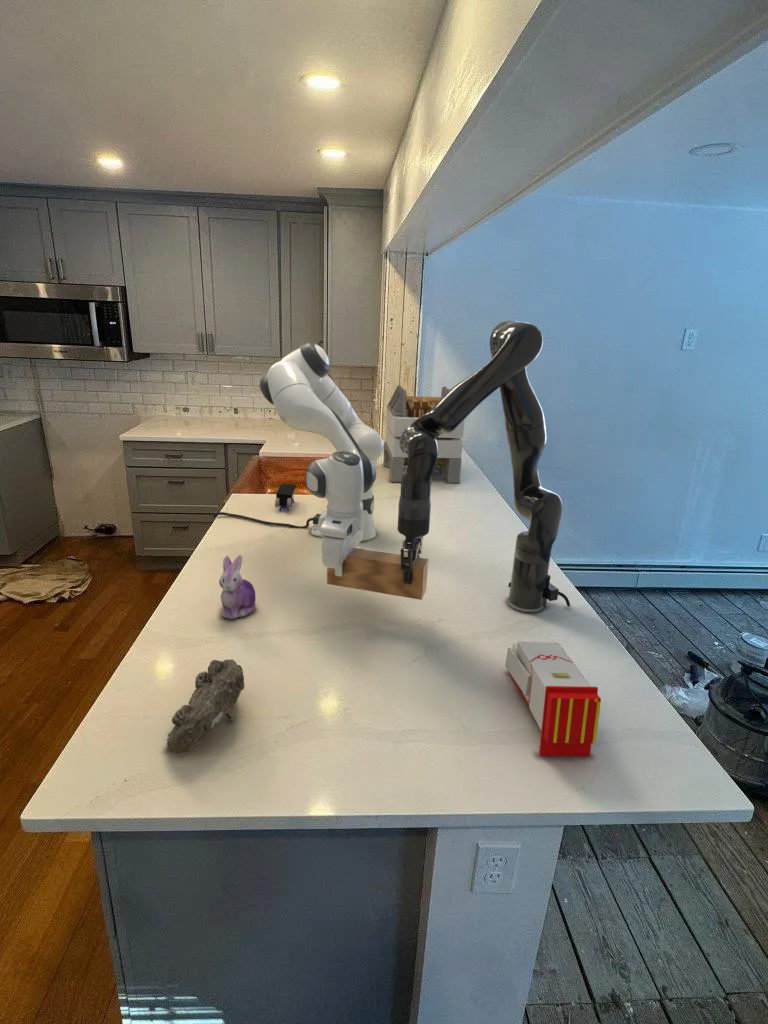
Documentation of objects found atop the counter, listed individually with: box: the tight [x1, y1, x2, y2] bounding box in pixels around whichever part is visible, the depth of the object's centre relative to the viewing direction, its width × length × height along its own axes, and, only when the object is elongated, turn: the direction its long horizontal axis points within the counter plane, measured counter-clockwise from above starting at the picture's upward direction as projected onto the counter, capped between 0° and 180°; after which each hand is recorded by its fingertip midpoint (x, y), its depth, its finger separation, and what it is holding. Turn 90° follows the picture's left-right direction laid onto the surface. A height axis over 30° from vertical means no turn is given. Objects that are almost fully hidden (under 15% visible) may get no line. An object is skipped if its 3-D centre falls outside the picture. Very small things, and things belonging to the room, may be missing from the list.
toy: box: [505, 641, 602, 757], centre depth 113 cm, size 12×13×30 cm
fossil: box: [166, 658, 245, 754], centre depth 106 cm, size 22×10×15 cm
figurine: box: [218, 554, 256, 619], centre depth 143 cm, size 9×10×15 cm
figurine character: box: [274, 483, 297, 512], centre depth 220 cm, size 7×8×15 cm
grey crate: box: [383, 384, 466, 484], centre depth 268 cm, size 34×33×41 cm
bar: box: [326, 547, 429, 601], centre depth 141 cm, size 24×5×9 cm, turn 74°
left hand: (343, 569), depth 144 cm, fingers closed on bar, 5 cm apart
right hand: (410, 577), depth 139 cm, fingers closed on bar, 5 cm apart
